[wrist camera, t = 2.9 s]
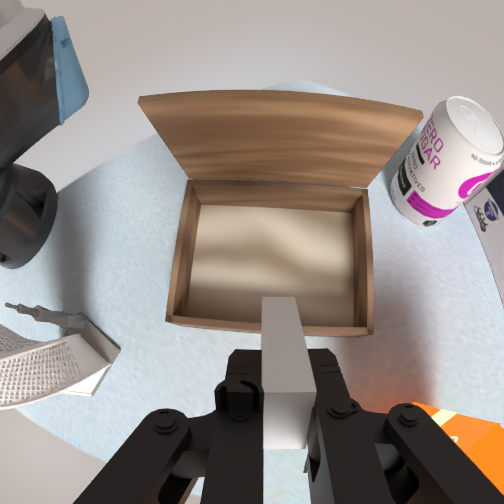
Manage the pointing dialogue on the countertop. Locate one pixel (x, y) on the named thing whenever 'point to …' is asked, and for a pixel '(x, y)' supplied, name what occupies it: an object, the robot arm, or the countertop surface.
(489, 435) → the orange juice
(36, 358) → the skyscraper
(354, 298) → the box
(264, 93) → the lid
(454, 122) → the supplement can
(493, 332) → the countertop surface
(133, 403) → the countertop surface
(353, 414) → the robot arm
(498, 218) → the packaging
